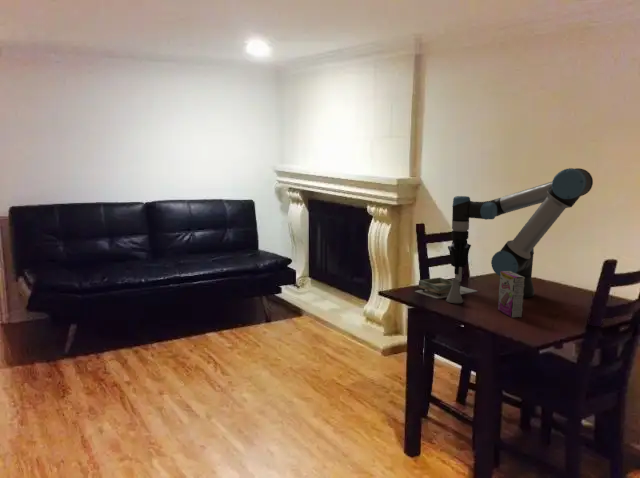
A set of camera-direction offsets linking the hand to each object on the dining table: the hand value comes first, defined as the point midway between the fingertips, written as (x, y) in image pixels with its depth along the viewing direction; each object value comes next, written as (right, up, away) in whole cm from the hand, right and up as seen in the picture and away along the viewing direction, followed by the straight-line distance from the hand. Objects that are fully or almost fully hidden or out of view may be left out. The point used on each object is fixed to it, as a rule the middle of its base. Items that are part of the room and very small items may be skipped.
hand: (458, 280), depth 267 cm
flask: (-6, -8, -19) cm, 21 cm away
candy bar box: (+12, -11, -36) cm, 39 cm away
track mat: (-6, -5, -2) cm, 8 cm away
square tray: (-10, -5, -5) cm, 12 cm away
